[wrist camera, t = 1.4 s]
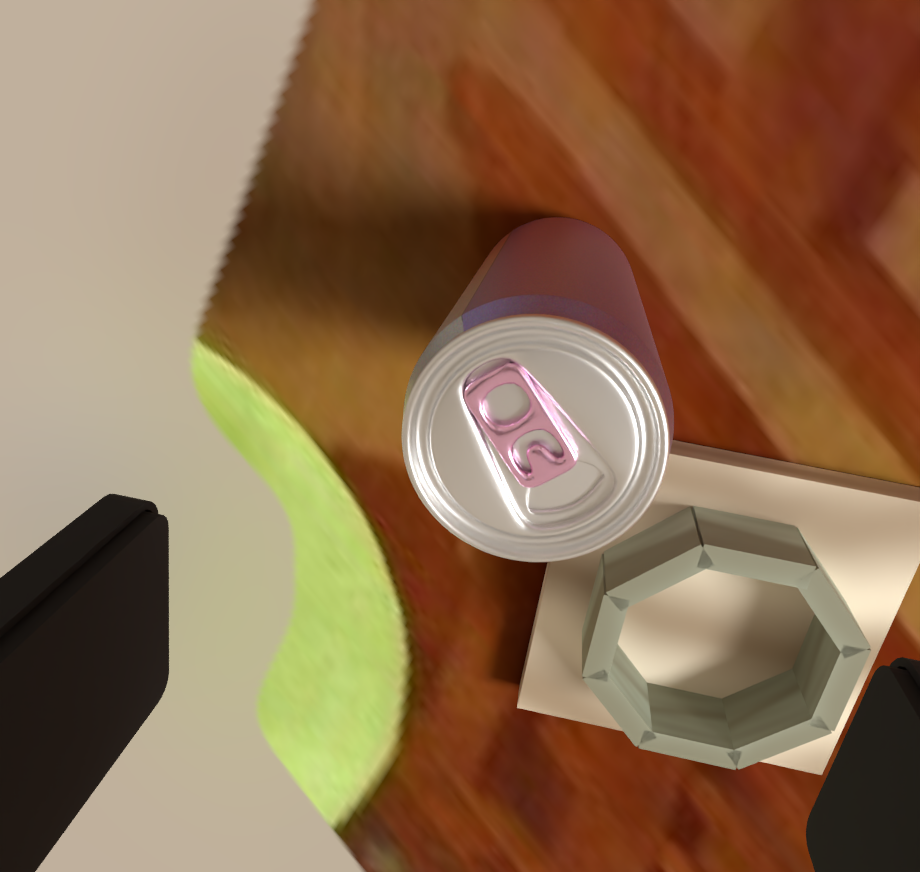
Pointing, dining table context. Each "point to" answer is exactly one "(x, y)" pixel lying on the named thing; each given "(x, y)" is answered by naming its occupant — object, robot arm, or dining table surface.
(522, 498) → the beverage can
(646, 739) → the can holder
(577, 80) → the dining table surface
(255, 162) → the dining table surface
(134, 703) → the robot arm
